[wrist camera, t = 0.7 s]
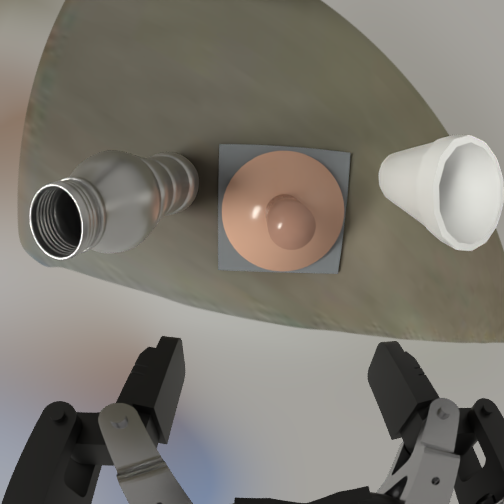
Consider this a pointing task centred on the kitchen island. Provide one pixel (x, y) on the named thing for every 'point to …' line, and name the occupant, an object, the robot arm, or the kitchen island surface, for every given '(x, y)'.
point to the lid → (282, 211)
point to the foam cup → (448, 188)
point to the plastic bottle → (110, 202)
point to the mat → (240, 154)
